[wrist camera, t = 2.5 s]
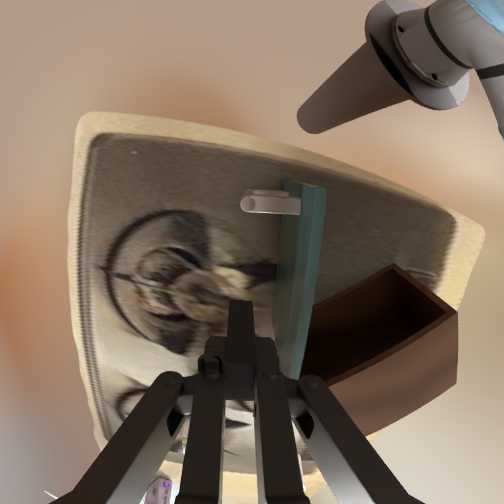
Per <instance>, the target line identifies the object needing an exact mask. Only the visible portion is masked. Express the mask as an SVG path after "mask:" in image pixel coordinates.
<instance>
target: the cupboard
mask: <svg viewBox="0 0 504 504" xmlns="http://www.w3.org/2000/svg"><path fill="white" fill-rule="evenodd" d="M457 364H458V312H457V311H456V310H454V309H453V308H452V307H451V306H449V305H448V304H447V303H446V302H445V301H443V300H442V299H441V298H440V297H438V296H437V295H436V294H434V293H433V292H432V291H431V290H429V289H428V288H427V287H425V286H424V285H423V284H421V283H420V282H419V281H418V280H416V279H415V278H414V277H412V276H411V275H410V274H408V273H407V272H405V271H404V270H403V269H401V268H400V267H399V266H397V265H396V264H395V263H394V264H392V265H390V266H388V267H387V268H385V269H383V270H381V271H379V272H378V273H376V274H374V275H372V276H370V277H368V278H367V279H365V280H363V281H361V282H359V283H357V284H355V285H354V286H352V287H350V288H348V289H346V290H344V291H342V292H340V293H338V294H336V295H334V296H332V297H330V298H328V299H326V300H324V301H322V302H320V303H318V304H316V305H314V306H313V307H312V313H311V319H310V324H309V330H308V335H307V341H306V346H305V351H304V356H303V361H302V366H301V371H300V376H299V379H300V378H301V377H302V376H305V375H316V376H318V377H320V378H321V379H323V380H324V382H325V383H326V385H327V386H328V387H329V389H330V390H331V391H332V393H333V394H334V396H335V397H336V398H337V400H338V401H339V402H340V404H341V405H342V406H343V408H344V409H345V411H346V412H347V413H348V415H349V416H350V417H351V419H352V420H353V421H354V423H355V424H356V425H357V427H358V428H359V429H360V431H361V432H362V433H363V435H364V436H365V437H366V436H368V435H370V434H372V433H374V432H376V431H378V430H380V429H383V428H384V427H386V426H388V425H390V424H392V423H394V422H396V421H398V420H400V419H401V418H403V417H405V416H407V415H409V414H410V413H412V412H414V411H415V410H417V409H419V408H420V407H422V406H424V405H425V404H427V403H428V402H430V401H432V400H433V399H435V398H436V397H438V396H439V395H441V394H442V393H444V392H445V391H447V390H448V389H449V388H451V387H452V386H454V385H455V384H456V380H457Z"/></svg>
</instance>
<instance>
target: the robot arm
mask: <svg viewBox="0 0 504 504" xmlns="http://www.w3.org/2000/svg"><path fill="white" fill-rule="evenodd" d="M389 36H390V41H391V44H392V47H393V49H394V51H395V53H396V55H397V56H398V58H399V59H400V61H401V62H402V64H403V65H404V66H405V67H406V69H407V70H408V71H409V72H410V73H411V74H412V75H413V76H415V77H416V78H417V79H418V80H420V81H421V82H423V83H424V84H426V85H428V86H431V87H434V88H447V87H450V86H453V85H455V84H456V83H457V82H458V81H459V80H460V79H461V78H462V77H463V76H464V75H465V74H466V73H467V72H468V71H469V70H470V69H472V68H475V70H476V72H477V74H478V76H479V79H480V81H481V83H482V85H483V88H484V90H485V92H486V94H487V97H488V99H489V101H490V104H491V107H492V109H493V112H494V115H495V117H496V120H497V123H498V129H499V132H500V134H501V136H502V137H503V140H504V0H437V1H435V2H434V3H432V4H431V5H430V6H428V7H427V8H421V9H415V10H410V11H405V12H402V13H400V14H399V15H397V16H396V17H395V18H394V19H393V20H392V21H391V23H390V27H389ZM225 400H237V401H254V409H253V417H254V428H255V447H256V467H257V486H258V504H310V500H309V498H308V497H307V496H305V493H304V488H303V483H302V477H301V471H300V465H299V460H298V454H297V448H296V443H295V437H294V431H293V426H292V421H293V423H294V424H295V426H296V428H297V430H298V432H299V434H300V436H301V438H302V439H303V441H304V443H305V445H306V447H307V449H308V450H309V452H310V454H311V456H312V458H313V459H314V461H315V463H316V465H317V467H318V468H319V470H320V472H321V474H322V475H323V477H324V479H325V481H326V482H327V484H328V486H329V487H330V489H331V491H332V493H333V494H334V496H335V498H336V500H337V501H338V503H339V504H425V503H423V502H421V501H419V500H418V499H416V498H414V497H412V496H410V495H409V494H408V493H407V491H406V490H405V489H404V487H403V486H402V485H401V484H400V482H399V481H398V480H397V478H396V477H395V476H394V475H393V473H392V472H391V471H390V469H389V468H388V467H387V465H386V464H385V463H384V462H383V460H382V459H381V458H380V456H379V455H378V454H377V452H376V451H375V450H374V448H373V447H372V446H371V444H370V443H369V442H368V440H367V439H366V437H365V436H364V435H363V433H362V432H361V431H360V429H359V428H358V427H357V425H356V424H355V423H354V421H353V420H352V419H351V417H350V416H349V415H348V413H347V412H346V411H345V409H344V408H343V406H342V405H341V404H340V402H339V401H338V400H337V398H336V397H335V396H334V394H333V393H332V391H331V390H330V389H329V387H328V386H327V385H326V383H325V382H324V380H323V379H321V378H320V377H318V376H316V375H305V376H302V377H301V378H300V379H299V380H296V379H291V378H288V377H286V376H284V375H283V374H282V372H281V371H280V368H279V363H278V357H277V352H276V346H275V342H274V341H273V340H272V339H271V337H255V330H254V316H253V303H252V301H244V300H230V306H229V318H228V330H227V337H221V336H210V337H209V338H208V339H207V341H206V345H205V352H204V354H203V355H201V356H200V357H199V358H198V373H197V374H195V375H193V376H188V377H182V375H181V374H179V373H177V372H174V371H167V372H163V373H161V374H160V375H159V376H158V377H157V378H156V379H155V381H154V382H153V383H152V385H151V386H150V387H149V389H148V390H147V391H146V393H145V394H144V395H143V397H142V398H141V399H140V401H139V402H138V403H137V405H136V406H135V408H134V409H133V410H132V412H131V413H130V414H129V416H128V417H127V418H126V420H125V421H124V422H123V424H122V425H121V426H120V428H119V429H118V430H117V432H116V433H115V434H114V436H113V437H112V438H111V440H110V441H109V442H108V444H107V445H106V446H105V448H104V449H103V450H102V452H101V453H100V454H99V456H98V457H97V458H96V460H95V461H94V462H93V464H92V465H91V467H90V468H89V469H88V470H87V472H86V473H85V474H84V476H83V477H82V478H81V480H80V481H79V482H78V484H77V485H76V486H75V488H74V489H73V490H72V491H71V492H69V493H67V494H65V495H64V496H62V497H60V498H58V499H56V500H55V501H53V502H51V503H49V504H139V503H140V502H141V500H142V498H143V496H144V495H145V493H146V491H147V489H148V487H149V486H150V484H151V482H152V480H153V479H154V477H155V475H156V473H157V471H158V470H159V468H160V466H161V464H162V462H163V461H164V459H165V457H166V455H167V453H168V451H169V450H170V448H171V446H172V444H173V442H174V440H175V439H176V437H177V435H178V433H179V431H180V429H181V428H182V426H183V424H184V422H185V420H186V418H187V416H188V414H191V418H190V424H189V430H188V436H187V442H186V449H185V455H184V462H183V469H182V475H181V482H180V490H179V494H178V495H177V496H176V498H175V502H174V504H222V480H223V452H224V428H225ZM291 419H292V420H291Z"/></svg>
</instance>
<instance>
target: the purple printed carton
mask: <svg viewBox="0 0 504 504" xmlns="http://www.w3.org/2000/svg"><path fill="white" fill-rule="evenodd" d="M171 488H172V481H169V480H166V479H164V478H161V477H159V478H158V479H157V480H156V481H155V482H153V483H152V484H151V486H150V487H149V488H148V489H147V492H146V497H145V503H144V504H170V496H171Z"/></svg>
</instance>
